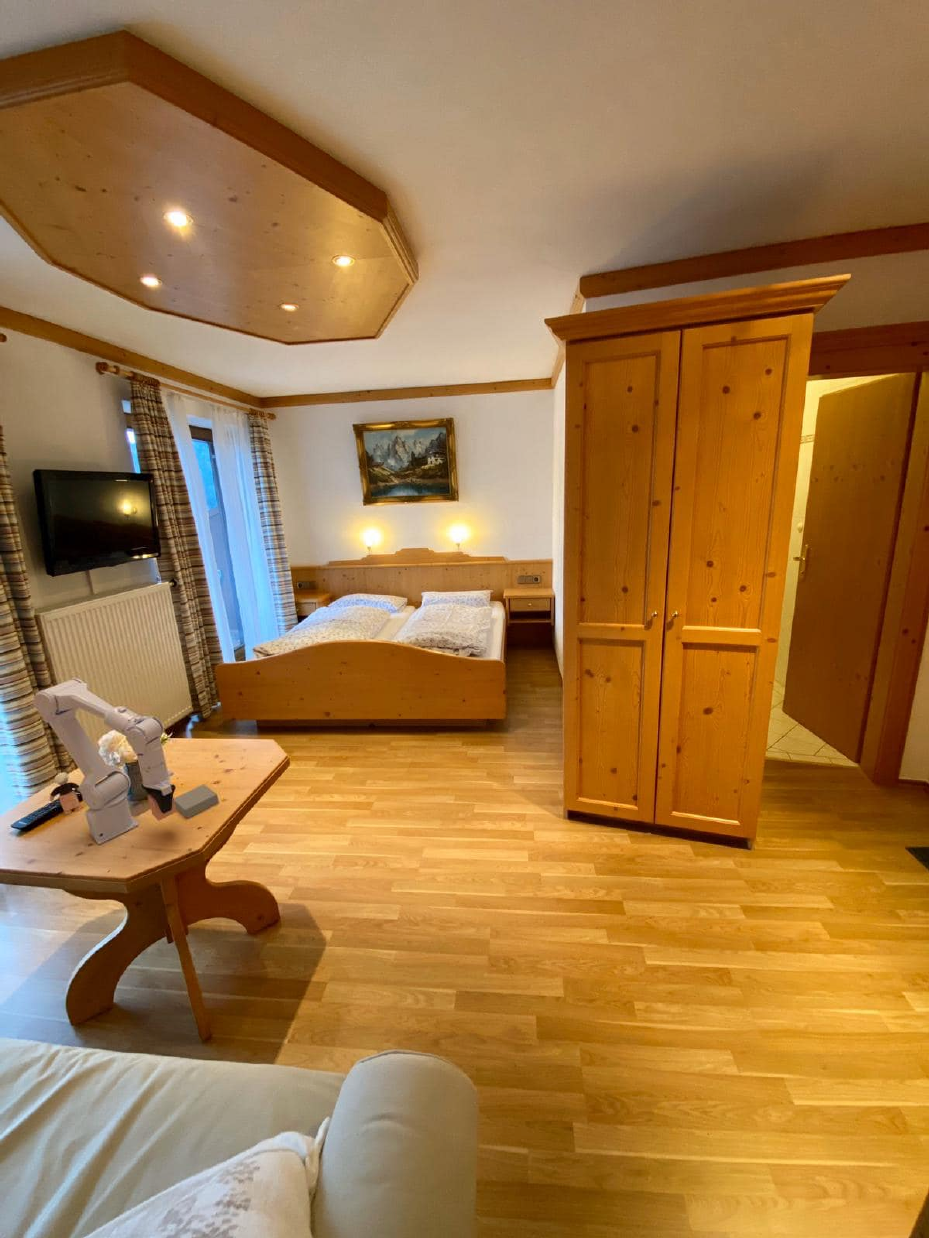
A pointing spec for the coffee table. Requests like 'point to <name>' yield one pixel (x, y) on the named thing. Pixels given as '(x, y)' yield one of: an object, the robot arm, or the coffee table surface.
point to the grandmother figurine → (66, 793)
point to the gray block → (196, 801)
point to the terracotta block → (156, 810)
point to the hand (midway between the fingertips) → (163, 807)
